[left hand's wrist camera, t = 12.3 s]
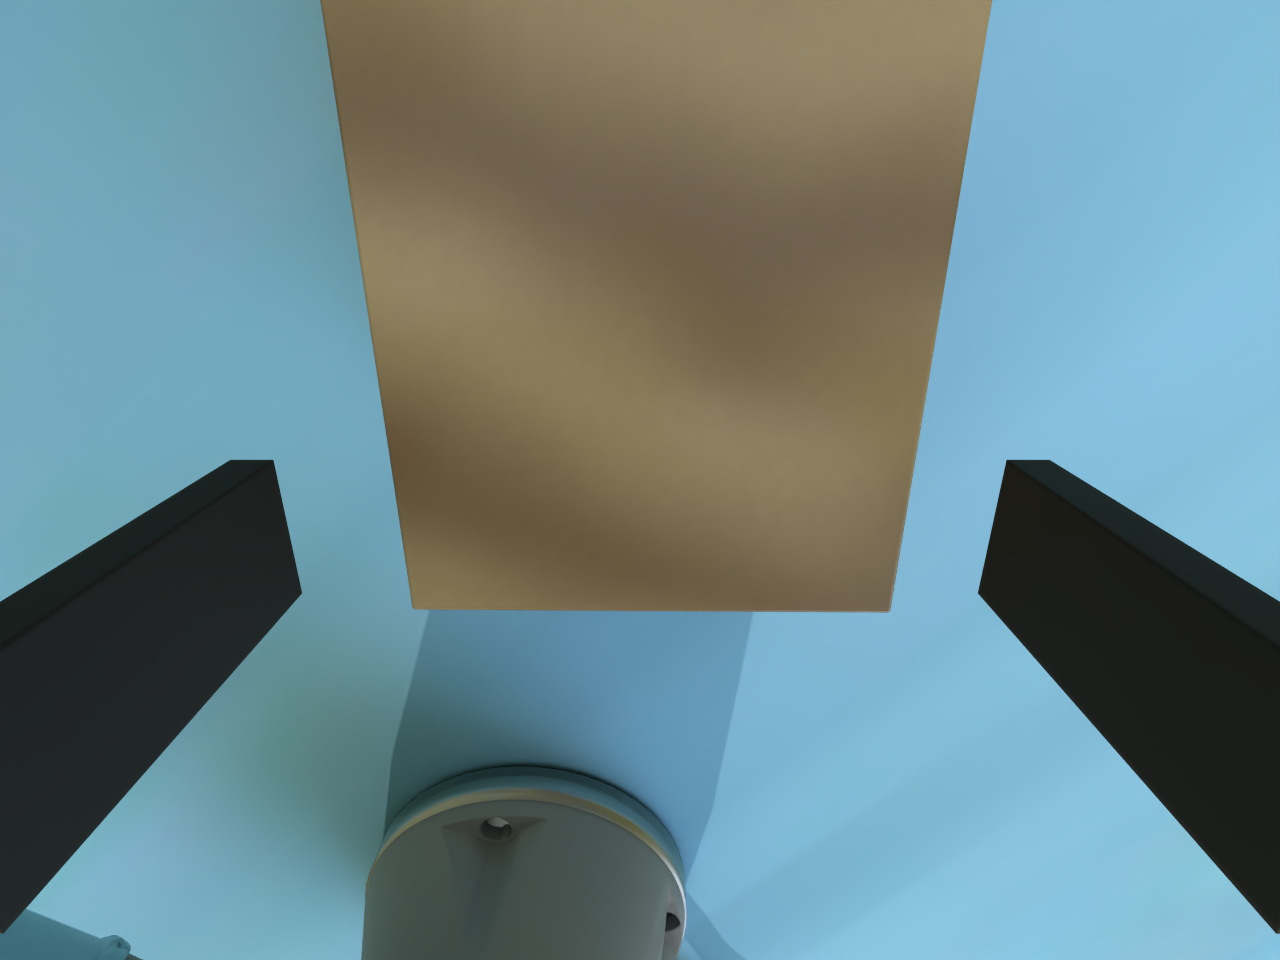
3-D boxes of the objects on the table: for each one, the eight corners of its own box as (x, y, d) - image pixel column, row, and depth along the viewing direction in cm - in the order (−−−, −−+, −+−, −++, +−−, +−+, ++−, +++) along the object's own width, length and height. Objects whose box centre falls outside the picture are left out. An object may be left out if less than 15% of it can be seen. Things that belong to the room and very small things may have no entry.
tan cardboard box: (460, -169, 18) (220, -639, 8) (846, -171, 18) (1103, -651, 8) (508, 442, 25) (411, 611, 15) (791, 442, 25) (890, 614, 15)
